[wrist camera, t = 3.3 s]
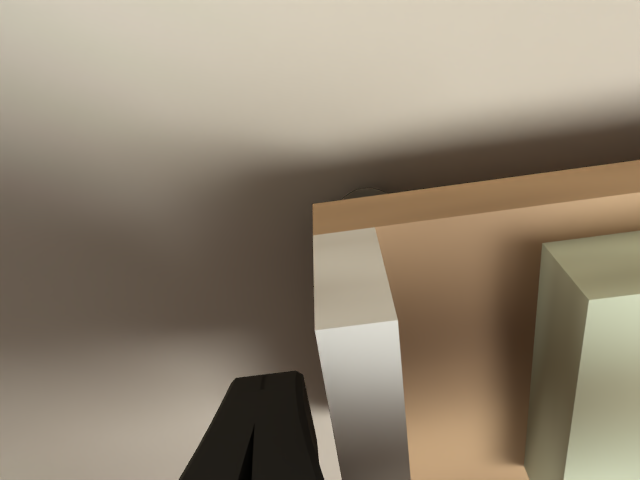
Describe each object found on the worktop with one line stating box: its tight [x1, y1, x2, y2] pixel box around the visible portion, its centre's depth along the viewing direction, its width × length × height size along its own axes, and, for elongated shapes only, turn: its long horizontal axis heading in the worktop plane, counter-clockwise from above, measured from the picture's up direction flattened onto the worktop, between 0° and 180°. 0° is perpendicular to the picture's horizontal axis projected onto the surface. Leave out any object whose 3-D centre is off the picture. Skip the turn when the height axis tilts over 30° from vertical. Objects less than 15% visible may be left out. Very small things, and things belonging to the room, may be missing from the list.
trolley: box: [312, 160, 640, 480], centre depth 10 cm, size 7×9×5 cm
